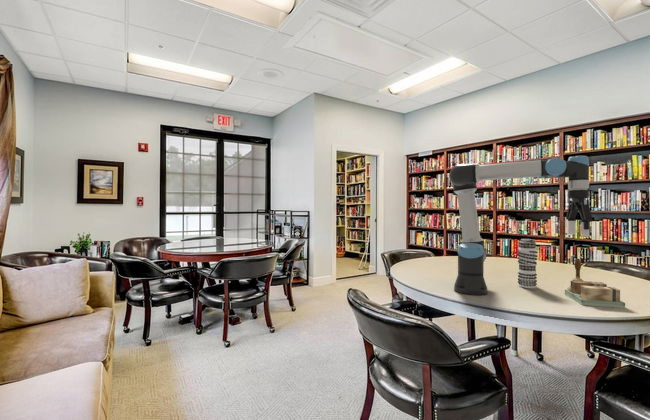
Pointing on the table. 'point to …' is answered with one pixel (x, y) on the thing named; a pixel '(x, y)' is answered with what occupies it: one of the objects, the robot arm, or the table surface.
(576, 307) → the table surface
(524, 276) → the decorative candle
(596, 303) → the pale green flat frame
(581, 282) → the walnut bar
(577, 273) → the hand bell
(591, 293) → the oak bar
